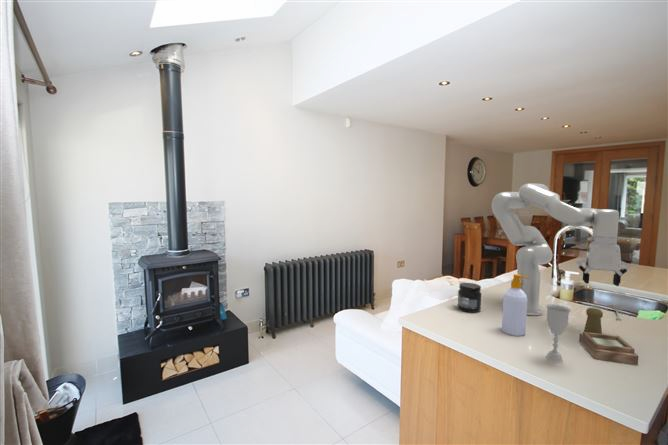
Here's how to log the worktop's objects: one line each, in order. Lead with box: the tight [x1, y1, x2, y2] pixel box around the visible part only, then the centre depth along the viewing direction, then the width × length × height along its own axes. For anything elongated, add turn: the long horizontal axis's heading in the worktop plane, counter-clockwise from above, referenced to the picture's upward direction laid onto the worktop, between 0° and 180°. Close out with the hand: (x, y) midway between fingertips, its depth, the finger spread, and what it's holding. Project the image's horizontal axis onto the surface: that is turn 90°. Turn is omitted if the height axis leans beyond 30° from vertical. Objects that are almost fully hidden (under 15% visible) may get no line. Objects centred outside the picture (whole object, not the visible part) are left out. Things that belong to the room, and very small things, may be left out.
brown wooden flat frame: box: [578, 331, 639, 365], centre depth 118 cm, size 12×14×4 cm
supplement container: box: [457, 282, 482, 314], centre depth 160 cm, size 10×10×12 cm
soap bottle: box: [501, 273, 529, 337], centre depth 134 cm, size 9×9×24 cm
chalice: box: [545, 303, 571, 364], centre depth 112 cm, size 7×7×18 cm
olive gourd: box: [583, 307, 604, 334], centre depth 131 cm, size 6×6×11 cm
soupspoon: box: [606, 304, 625, 322], centre depth 157 cm, size 22×3×7 cm
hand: (600, 283), depth 131 cm, fingers open, 9 cm apart
